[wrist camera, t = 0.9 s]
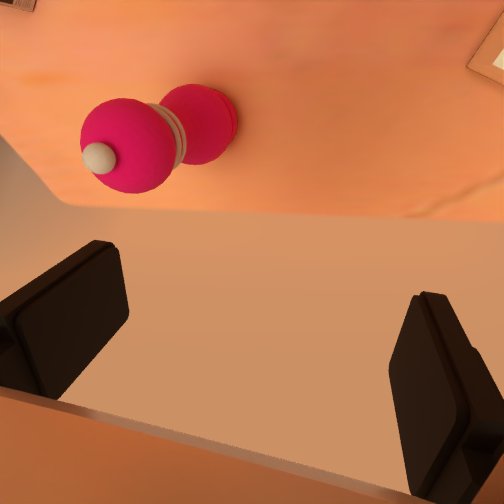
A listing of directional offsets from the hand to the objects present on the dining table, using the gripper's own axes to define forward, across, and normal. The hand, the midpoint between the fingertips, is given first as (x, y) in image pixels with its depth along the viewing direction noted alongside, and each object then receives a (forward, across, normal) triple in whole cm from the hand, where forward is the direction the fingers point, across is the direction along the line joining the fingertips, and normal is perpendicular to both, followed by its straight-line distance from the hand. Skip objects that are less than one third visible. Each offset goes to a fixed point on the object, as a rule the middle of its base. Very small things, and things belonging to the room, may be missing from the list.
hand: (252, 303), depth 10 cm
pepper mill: (+28, +11, -2) cm, 30 cm away
